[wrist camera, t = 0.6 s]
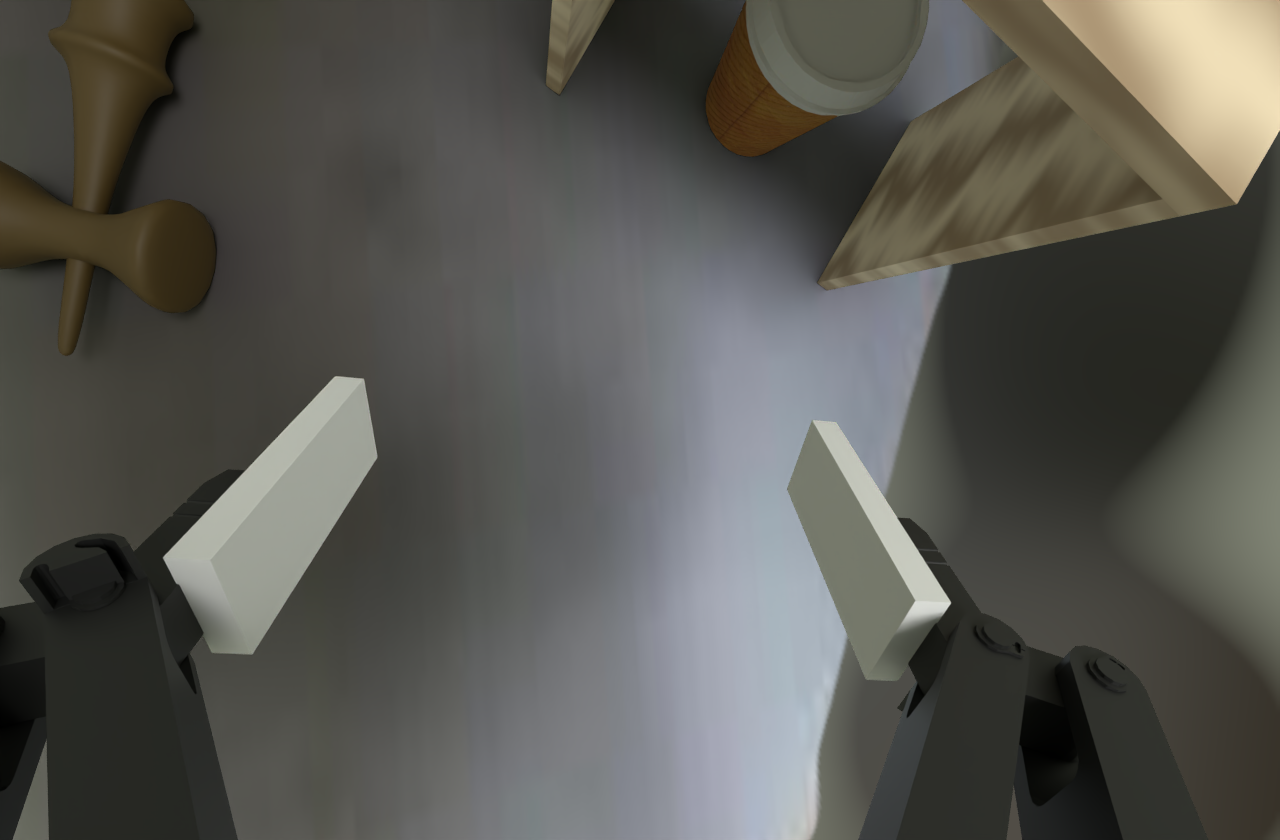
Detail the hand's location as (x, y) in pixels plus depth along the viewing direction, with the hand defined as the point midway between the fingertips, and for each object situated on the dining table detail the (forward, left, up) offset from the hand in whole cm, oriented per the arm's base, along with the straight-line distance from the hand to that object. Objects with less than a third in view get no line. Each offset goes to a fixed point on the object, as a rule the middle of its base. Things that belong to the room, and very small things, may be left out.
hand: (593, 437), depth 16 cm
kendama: (-12, -24, -21) cm, 34 cm away
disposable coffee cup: (-20, +13, -21) cm, 32 cm away
